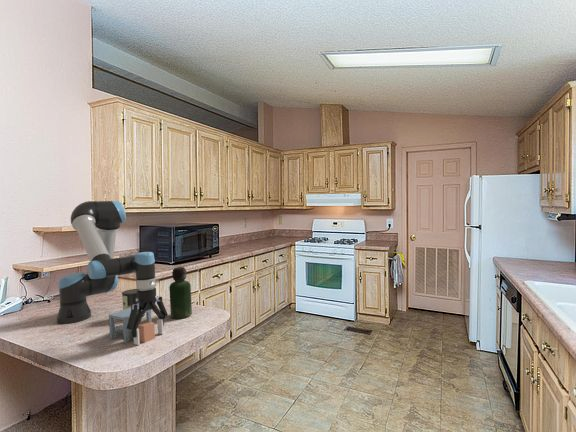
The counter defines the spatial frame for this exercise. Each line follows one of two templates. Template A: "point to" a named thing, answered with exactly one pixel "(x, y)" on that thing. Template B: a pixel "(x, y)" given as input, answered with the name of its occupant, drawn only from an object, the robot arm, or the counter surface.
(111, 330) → the blue toy stool
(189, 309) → the green bottle
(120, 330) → the steel bar
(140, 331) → the block
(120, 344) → the counter surface
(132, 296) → the coffee can
